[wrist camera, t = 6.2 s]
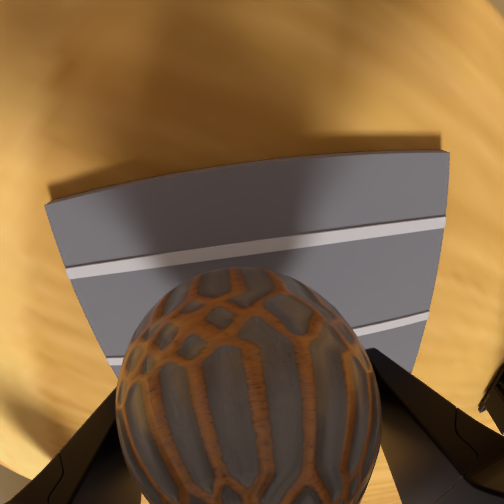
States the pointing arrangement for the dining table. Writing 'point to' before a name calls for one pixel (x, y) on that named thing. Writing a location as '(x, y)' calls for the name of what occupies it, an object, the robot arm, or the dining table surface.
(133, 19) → the dining table surface
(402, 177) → the mat
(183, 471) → the vase
